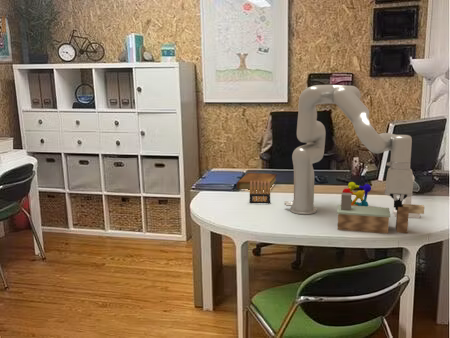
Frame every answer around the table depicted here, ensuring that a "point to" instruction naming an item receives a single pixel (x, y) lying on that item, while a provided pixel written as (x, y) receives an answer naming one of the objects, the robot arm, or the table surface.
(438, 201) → the table surface
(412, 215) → the joystick
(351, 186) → the molecular model
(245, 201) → the table surface
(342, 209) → the lid
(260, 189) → the ammunition clip
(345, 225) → the brown wooden open box
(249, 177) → the diary
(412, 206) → the key
